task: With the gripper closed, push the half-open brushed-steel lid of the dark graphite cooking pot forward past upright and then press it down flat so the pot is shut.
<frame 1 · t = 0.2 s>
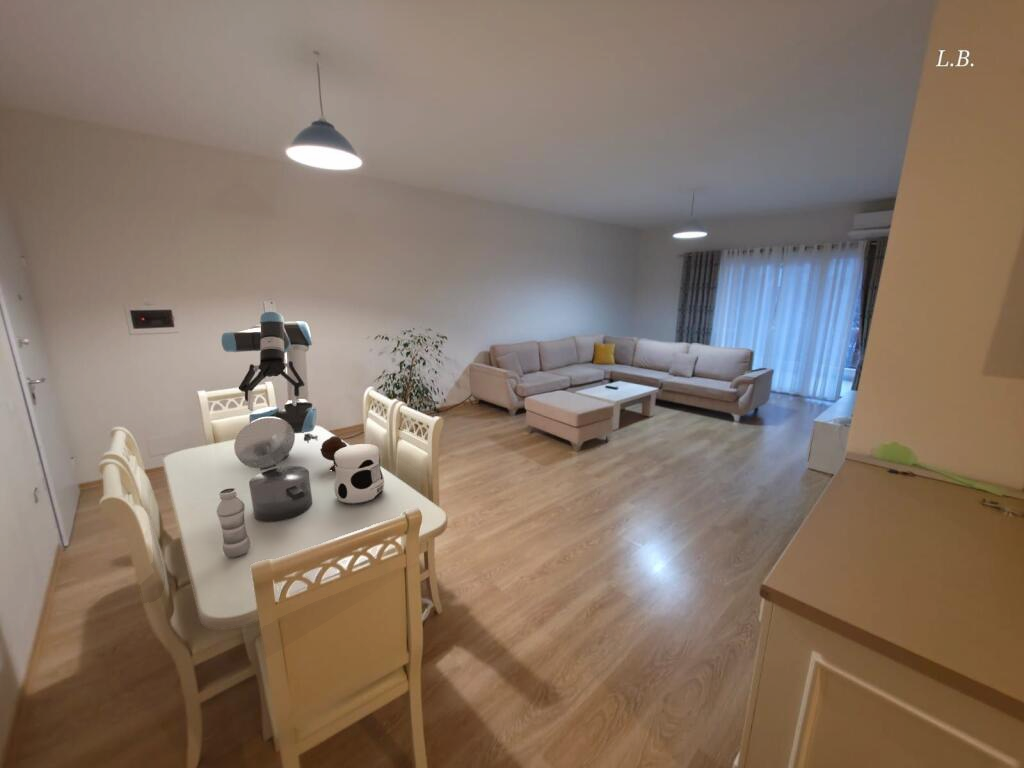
hand: (272, 407, 140), 36 cm above the table, tool tilted 35°, fingers open, 13 cm apart
dark brown rounded piece: (336, 468, 175), on the table
plastic bottle: (238, 554, 118), on the table
pot: (284, 508, 142), on the table
milk container: (360, 496, 151), on the table
lid: (264, 442, 144), point 22 cm above the table, hinge at 80.0°
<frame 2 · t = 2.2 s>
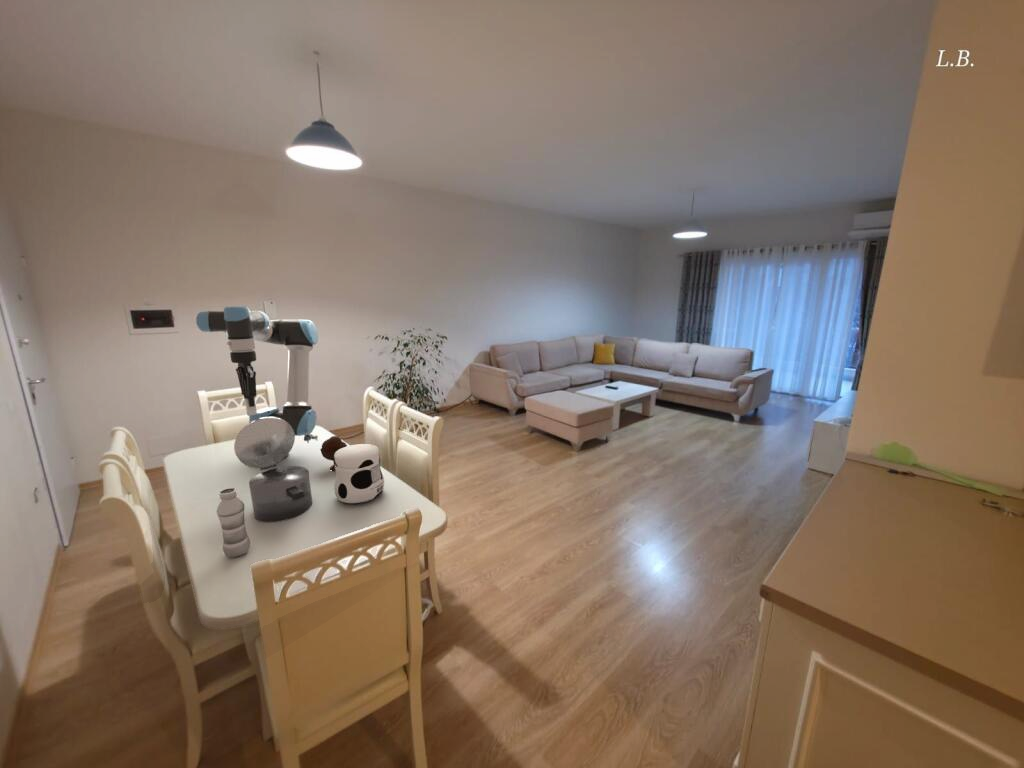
hand: (252, 414, 147), 31 cm above the table, tool pointing down, fingers closed
nothing on the table moved.
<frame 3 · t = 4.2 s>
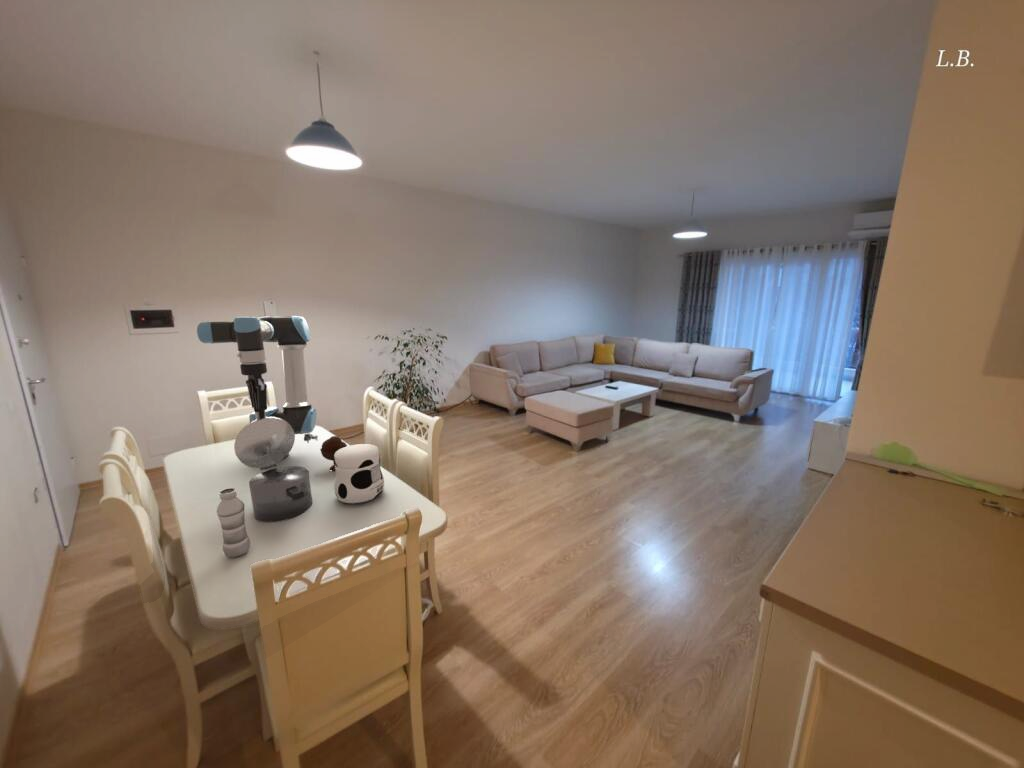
hand: (262, 428, 143), 28 cm above the table, tool pointing down, fingers closed
lid: (264, 442, 144), point 22 cm above the table, hinge at 79.9°, touching gripper
everything else where it was.
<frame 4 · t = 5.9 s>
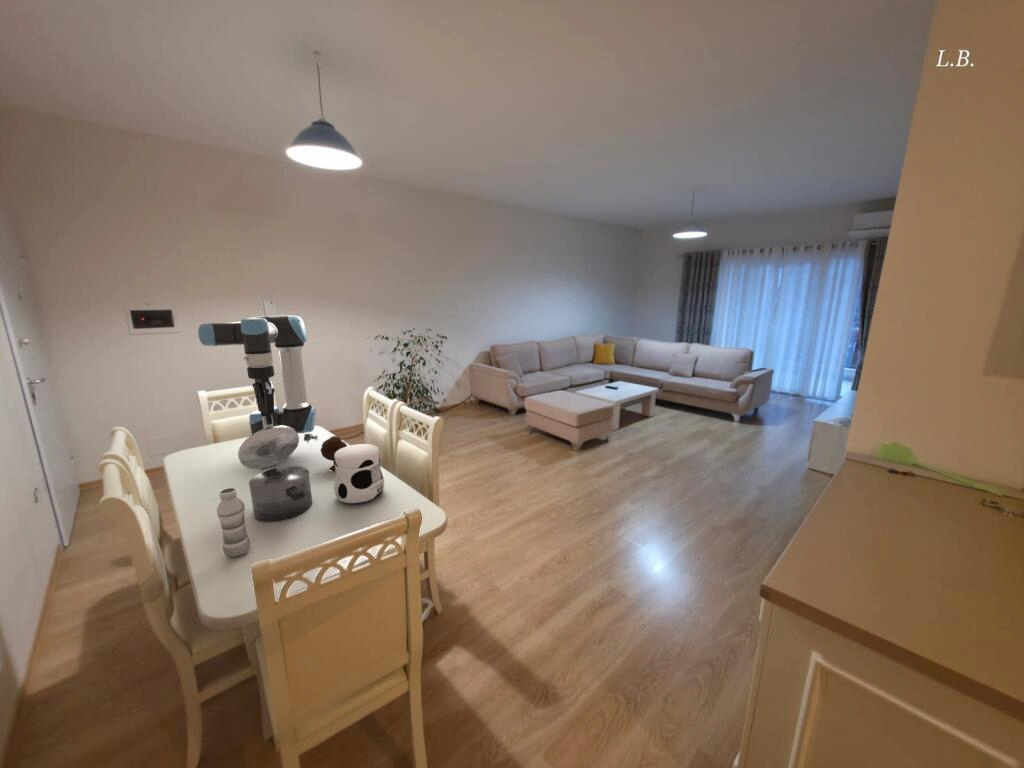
hand: (269, 432, 139), 27 cm above the table, tool pointing down, fingers closed
lid: (268, 445, 142), point 22 cm above the table, hinge at 59.6°, touching gripper
everything else where it was.
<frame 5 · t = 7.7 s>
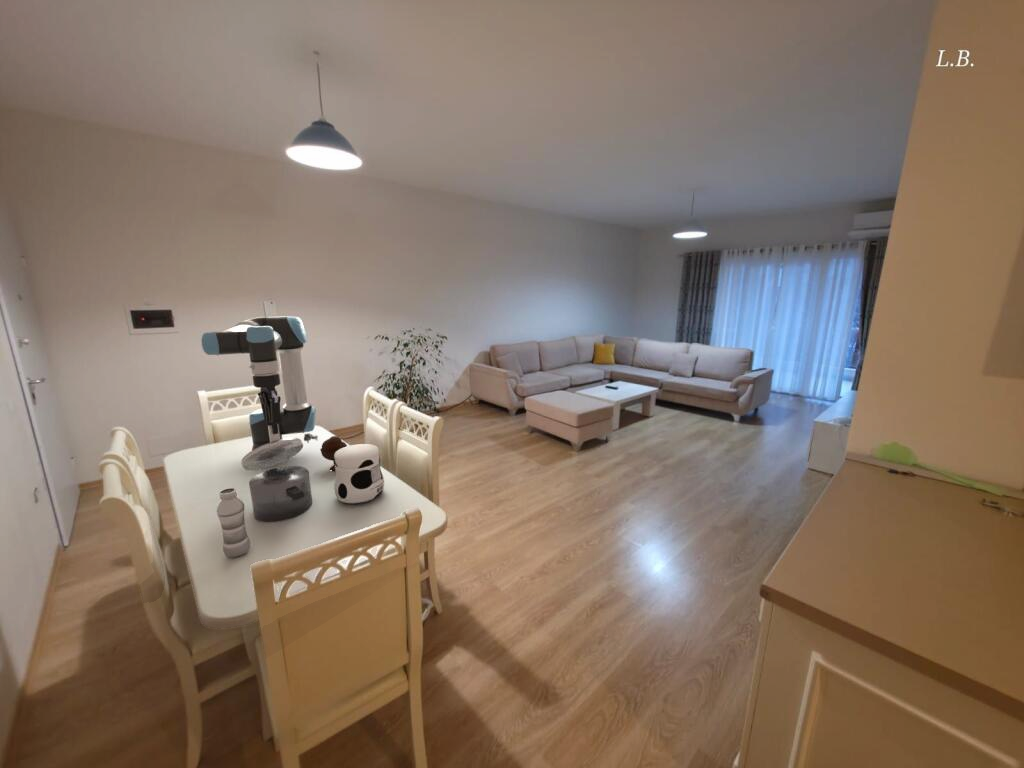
hand: (275, 442, 136), 25 cm above the table, tool pointing down, fingers closed
lid: (271, 451, 141), point 20 cm above the table, hinge at 41.5°, touching gripper
everything else where it was.
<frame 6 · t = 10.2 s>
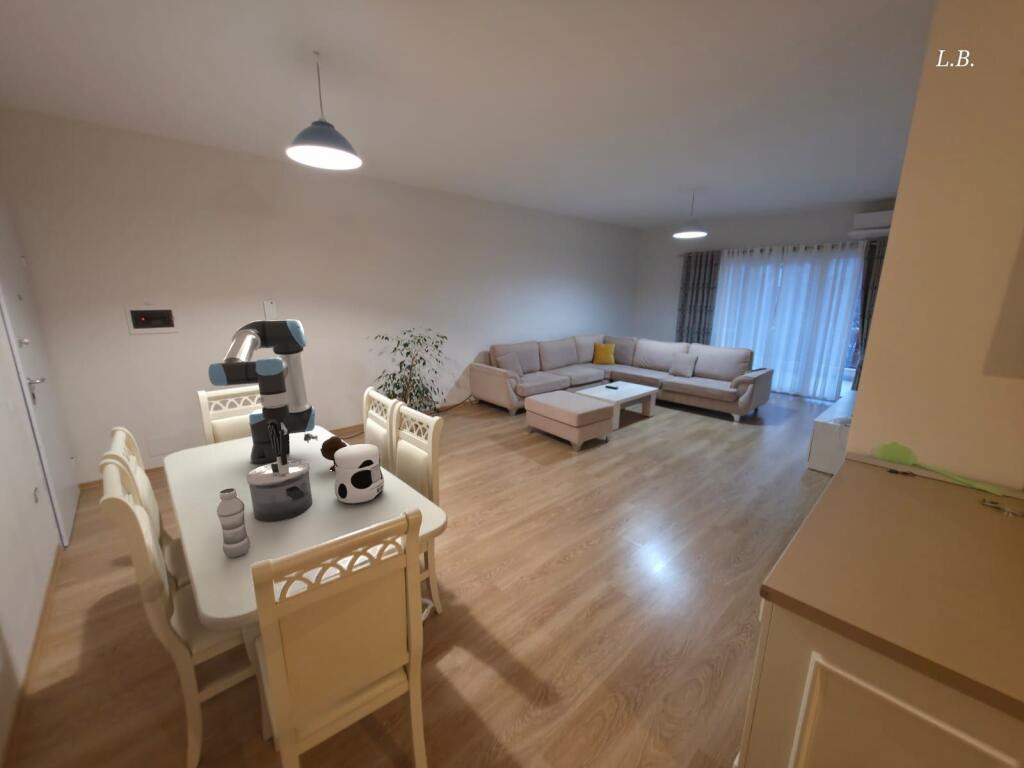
hand: (284, 472, 136), 15 cm above the table, tool pointing down, fingers closed
lid: (277, 468, 139), point 15 cm above the table, hinge at 3.5°, touching gripper
everything else where it was.
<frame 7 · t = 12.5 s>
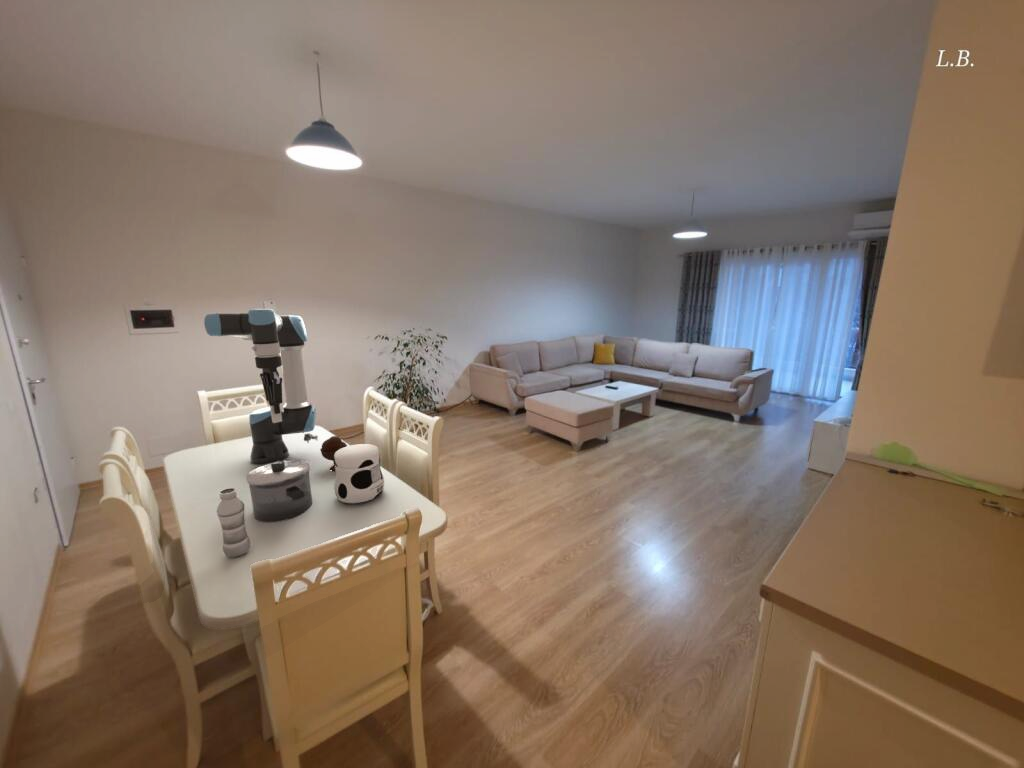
hand: (277, 421, 141), 30 cm above the table, tool pointing down, fingers closed
lid: (277, 468, 139), point 15 cm above the table, hinge at 3.5°
everything else where it was.
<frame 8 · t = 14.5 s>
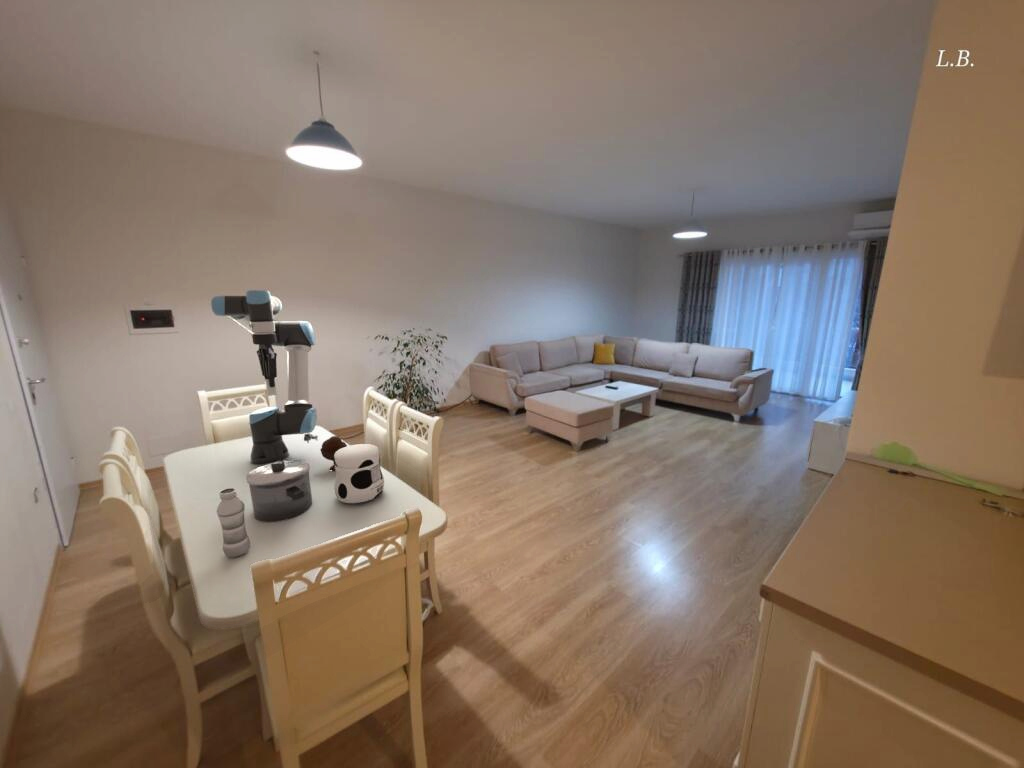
hand: (272, 394, 154), 36 cm above the table, tool pointing down, fingers closed
nothing on the table moved.
at the end: lid at +4° (first picture: +80°); milk container moved 0.3 cm from its start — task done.
